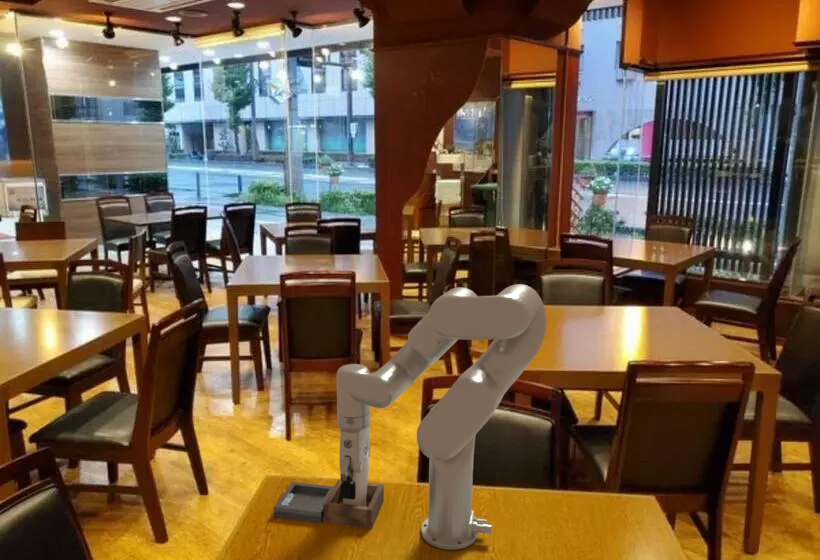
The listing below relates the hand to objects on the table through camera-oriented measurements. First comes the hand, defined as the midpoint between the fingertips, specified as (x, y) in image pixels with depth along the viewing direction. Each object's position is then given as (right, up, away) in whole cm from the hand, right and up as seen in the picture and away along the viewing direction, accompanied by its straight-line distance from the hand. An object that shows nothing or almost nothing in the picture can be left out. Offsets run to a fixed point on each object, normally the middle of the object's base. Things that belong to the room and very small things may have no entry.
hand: (354, 487), depth 144 cm
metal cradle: (-12, -6, +3) cm, 14 cm away
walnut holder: (0, -6, +1) cm, 6 cm away
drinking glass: (0, -6, +1) cm, 6 cm away
